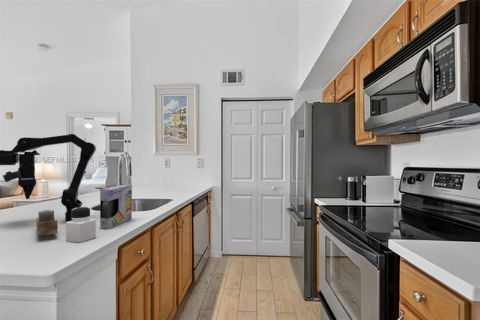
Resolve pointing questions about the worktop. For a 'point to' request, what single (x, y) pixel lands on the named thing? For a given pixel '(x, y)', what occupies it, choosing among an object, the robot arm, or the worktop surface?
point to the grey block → (46, 216)
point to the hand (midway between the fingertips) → (27, 198)
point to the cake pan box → (115, 205)
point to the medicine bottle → (80, 226)
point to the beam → (46, 227)
